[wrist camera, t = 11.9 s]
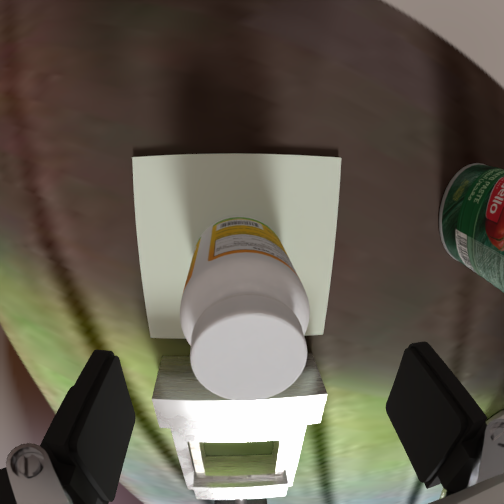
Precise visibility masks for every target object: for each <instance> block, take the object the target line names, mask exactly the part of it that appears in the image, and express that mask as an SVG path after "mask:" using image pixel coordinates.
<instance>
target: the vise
mask: <svg viewBox="0 0 504 504" xmlns="http://www.w3.org/2000/svg"><path fill="white" fill-rule="evenodd" d="M326 397H327V392H326V389H325V387H324V384H323V381H322V379H321V376H320V373H319V370H318V368H317V365H316V362H315V360H314V357H313V354H312V353H307V360H306V364H305V367H304V369H303V371H302V373H301V374H300V376H299V377H298V378H297V380H296V381H295V382H294V383H293V384H292V385H291V386H289V387H288V388H287V389H285V390H284V391H282V392H280V393H278V394H276V395H274V396H271V397H268V398H265V399H261V400H255V401H237V400H231V399H227V398H223V397H220V396H218V395H216V394H214V393H212V392H211V391H209V390H208V389H206V388H205V387H204V386H203V385H202V384H201V383H200V382H199V381H198V379H197V378H196V376H195V374H194V372H193V370H192V367H191V362H190V356H162V359H161V363H160V367H159V371H158V375H157V379H156V383H155V388H154V392H153V396H152V401H153V405H154V408H155V412H156V416H157V419H158V423H159V426H160V428H171V432H172V436H173V440H174V443H175V447H176V450H177V454H178V457H179V461H180V464H181V468H182V471H183V474H184V478H185V481H186V484H187V487H188V489H193V490H194V491H195V495H196V498H197V499H234V500H215V504H267V499H254V498H269V497H280V496H286V492H287V488H288V486H292V483H293V479H294V475H295V472H296V468H297V464H298V459H299V455H300V451H301V447H302V442H303V438H304V434H305V429H306V425H307V424H314V423H320V421H321V418H322V414H323V410H324V405H325V401H326ZM271 440H274V444H273V452H272V454H266V455H247V456H206V455H205V449H204V443H203V442H254V441H271ZM247 499H251V500H247Z"/></svg>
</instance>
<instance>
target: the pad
mask: <svg viewBox="0 0 504 504" xmlns="http://www.w3.org/2000/svg"><path fill="white" fill-rule="evenodd" d="M132 161H133V185H134V202H135V216H136V228H137V239H138V250H139V259H140V268H141V276H142V284H143V291H144V298H145V305H146V312H147V318H148V324H149V330H150V336H151V338H177V339H186V338H185V336H184V333H183V331H182V327H181V322H180V306H181V299H182V295H183V290H184V287H185V283H186V280H187V276H188V272H189V269H190V265H191V261H192V257H193V253H194V250H195V247H196V244H197V242H198V240H199V238H200V236H201V235H202V234H203V232H204V231H205V230H206V229H207V228H208V227H210V226H211V225H212V224H214V223H215V222H217V221H219V220H221V219H224V218H227V217H233V216H246V217H251V218H254V219H257V220H259V221H261V222H263V223H265V224H266V225H268V226H269V227H270V228H271V229H272V230H273V231H274V232H275V234H276V235H277V236H278V238H279V240H280V241H281V243H282V245H283V247H284V249H285V251H286V253H287V255H288V257H289V259H290V261H291V263H292V265H293V267H294V269H295V271H296V273H297V275H298V276H299V278H300V280H301V282H302V284H303V287H304V289H305V291H306V294H307V297H308V301H309V308H310V316H309V323H308V327H307V330H306V332H305V335H304V336H308V335H323V331H324V325H325V318H326V311H327V304H328V296H329V289H330V281H331V272H332V264H333V255H334V245H335V236H336V225H337V214H338V201H339V187H340V172H341V158H339V157H326V156H309V155H287V154H237V153H229V154H179V155H157V156H141V157H132Z"/></svg>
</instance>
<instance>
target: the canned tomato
mask: <svg viewBox="0 0 504 504" xmlns="http://www.w3.org/2000/svg"><path fill="white" fill-rule="evenodd" d="M439 232H440V236H441V241H442V243H443V246H444V248H445V249H446V251H447V252H448V254H449V255H450V256H452V257H453V258H454V259H455V260H457V261H460V262H461V263H463V264H464V265H465V266H467V267H468V268H470V269H472V270H473V271H474V272H476V273H477V274H479V275H480V276H481V277H483V278H485V279H486V280H487V281H488V282H490V283H492V284H493V285H494V286H495V287H497V288H499V289H500V290H501V291H502V292H504V169H500V168H497V167H491V166H487V165H485V164H481V163H474V164H469V165H467V166H465V167H463V168H462V169H461V170H459V171H458V172H457V173H456V174H455V176H454V177H453V178H452V179H451V181H450V182H449V184H448V186H447V188H446V190H445V193H444V195H443V198H442V202H441V206H440V212H439Z"/></svg>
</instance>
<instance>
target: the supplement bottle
mask: <svg viewBox="0 0 504 504" xmlns="http://www.w3.org/2000/svg"><path fill="white" fill-rule="evenodd" d="M309 316H310V308H309V301H308V297H307V294H306V291H305V289H304V287H303V284H302V282H301V280H300V278H299V276H298V275H297V273H296V271H295V269H294V267H293V265H292V263H291V261H290V259H289V257H288V255H287V253H286V251H285V249H284V247H283V245H282V243H281V241H280V240H279V238H278V236H277V235H276V234H275V232H274V231H273V230H272V229H271V228H270V227H269V226H268V225H266V224H265V223H263V222H261V221H259V220H257V219H254V218H251V217H246V216H233V217H227V218H224V219H221V220H219V221H217V222H215V223H214V224H212V225H211V226H210V227H208V228H207V229H206V230H205V231H204V232H203V234H202V235H201V236H200V238H199V240H198V242H197V244H196V247H195V250H194V253H193V257H192V261H191V265H190V269H189V272H188V276H187V280H186V283H185V287H184V290H183V295H182V299H181V306H180V322H181V327H182V331H183V333H184V336H185V338H186V339H187V341H188V343H189V344H190V346H191V349H190V362H191V367H192V370H193V372H194V374H195V376H196V378H197V379H198V381H199V382H200V383H201V384H202V385H203V386H204V387H205V388H206V389H208V390H209V391H211V392H212V393H214V394H216V395H218V396H220V397H223V398H227V399H231V400H237V401H255V400H261V399H265V398H268V397H271V396H274V395H276V394H278V393H280V392H282V391H284V390H285V389H287V388H288V387H289V386H291V385H292V384H293V383H294V382H295V381H296V380H297V378H298V377H299V376H300V374H301V373H302V371H303V369H304V367H305V364H306V360H307V344H306V341H305V337H304V335H305V332H306V330H307V327H308V323H309Z"/></svg>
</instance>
